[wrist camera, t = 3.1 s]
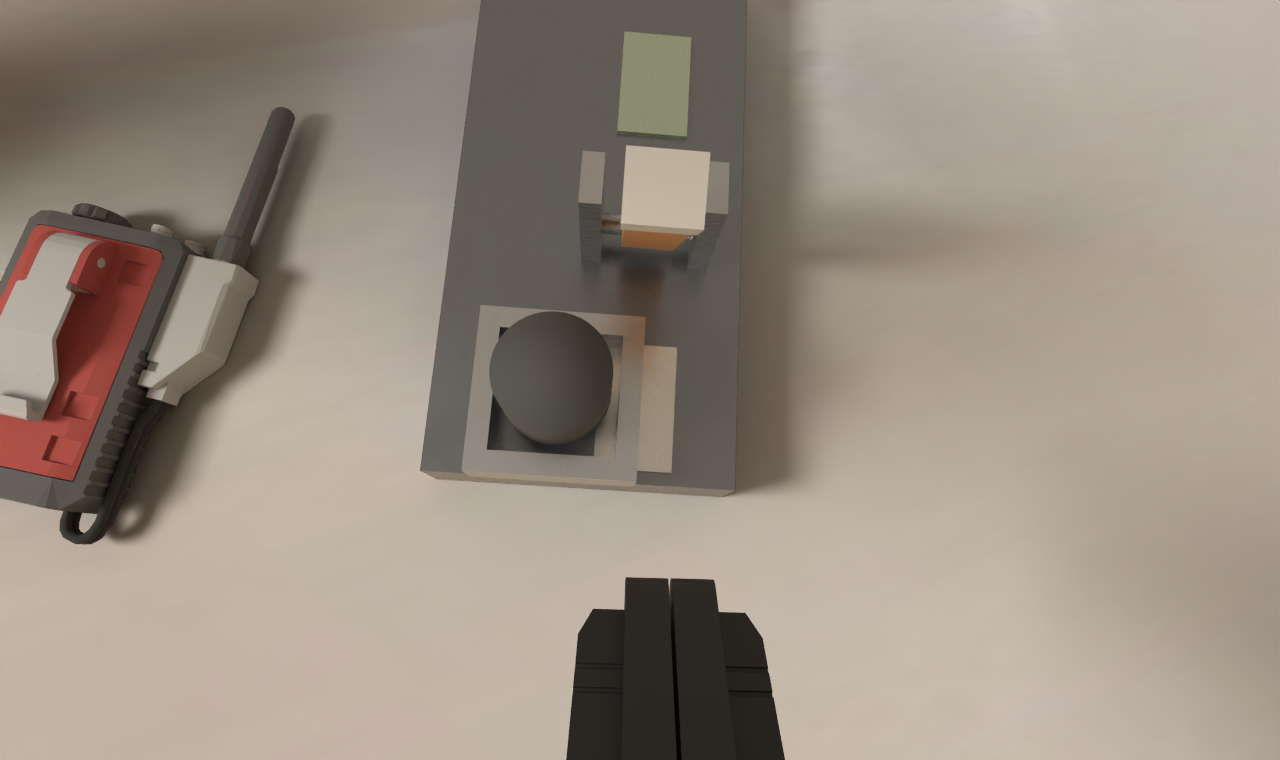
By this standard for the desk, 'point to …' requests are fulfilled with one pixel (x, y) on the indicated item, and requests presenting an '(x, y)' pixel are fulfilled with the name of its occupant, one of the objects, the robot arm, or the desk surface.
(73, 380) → the walkie-talkie
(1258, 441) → the desk surface
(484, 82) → the breaker plate
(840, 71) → the desk surface
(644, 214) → the breaker lever
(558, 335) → the button
